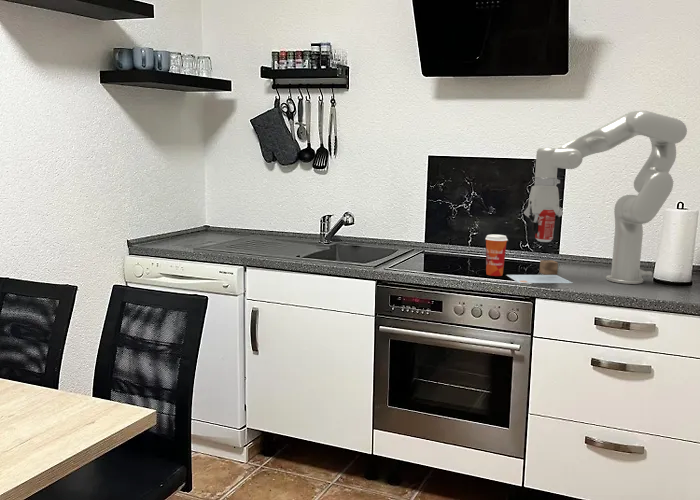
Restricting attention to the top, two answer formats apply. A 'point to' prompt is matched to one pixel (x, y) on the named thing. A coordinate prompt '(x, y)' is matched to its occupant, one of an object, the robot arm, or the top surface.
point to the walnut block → (548, 267)
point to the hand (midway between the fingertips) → (542, 232)
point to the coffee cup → (495, 254)
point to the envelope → (538, 279)
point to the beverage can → (545, 225)
